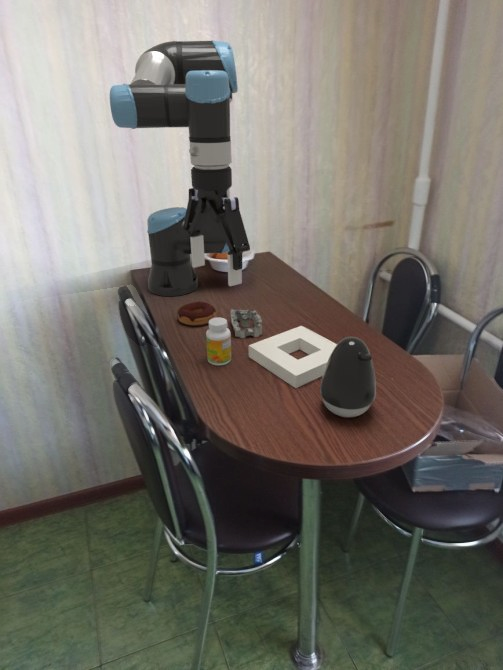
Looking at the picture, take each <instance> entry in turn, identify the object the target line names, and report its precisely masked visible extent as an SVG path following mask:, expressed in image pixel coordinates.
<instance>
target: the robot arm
mask: <svg viewBox="0 0 503 670" xmlns="http://www.w3.org/2000/svg"><path fill="white" fill-rule="evenodd" d="M232 48H233V47H232V46H231V44H230V43H228V42H227V41H219V40H214V39H213V40H196V41H195V40H184V41H183V40H182V41H180V40H179V41H177V40H172V41H171V40H170V41H166V42H161V43H159V44H157V45H155V46H152V47H150V48H149V49H147V50H145V51H144V52H143V53H142V54H141V55H140V56H139V58H138V59H137V61H136V64H135V67H134V77H133V78H132V80H131V82H130V84H129V83H128V84H127V83H123V84H115V85H112V86H111V87H110V90H109V105H110V113H111V117H112V121H113V123H114V125H115V126H117V127H118V128H123V129H131V130H135V129H153V128H154V129H157V128H159V129H160V128H188V139H189V140H188V141H189V150H188V152H189V154H190V155H189V156H190V164H191V165H193V167H191V169H190V176H191V186H192V188H189V189H188V199H187V200H188V202H187V206H186V207H178V206H176V207H168V208H163V209H159V210H156V211H154V212H153V213H151V214H150V215H149V216H148V217H147V222H146V224H147V234H148V242H149V251H150V260H151V265H150V266H151V267H150V270H149V275H148V280H147V286H148V287H147V288H148V291H149V292H150V293H152V294H154V295H156V296H163V297H176V296H183V295H187V294H190V293H192V292H194V291H195V290H197V289H198V287H199V280H198V279H199V278H198V276H197V274H196V270H195V268H198V267H199V268H200V267H202V266H206V262H205V261H206V260H205V254H226V256H227V281H228V282H227V285H228V286H229V287H232V286H237V285H241V284H242V283H243V278H242V277H243V272H242V271H243V253H244V252H248V251H250V250H251V245H250V243H249V242H250V241H249V238H248V236H247V232H246V229H245V224H244V221H243V217H242V214H241V211H240V201H239V198H238V197H237V196H236V197H230V193H231V191H230V189H231V187H232V186H233V173H232V172H233V170H232V168H231V166H230V165H231V163H232V162H233V161H232V160H233V159H232V141H231V104H232V101H233V94H236V93H237V92H238V89H239V87H238V80H237V70H236V62H235V57H234V52H233V49H232Z"/></svg>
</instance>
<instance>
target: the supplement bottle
mask: <svg viewBox="0 0 503 670" xmlns="http://www.w3.org/2000/svg"><path fill="white" fill-rule="evenodd" d="M231 334H232V333H231V331H230V329H229V328H228V320H227V319H226V318H224V317H220V316H219V317H217V316H216V318H212V319H210V320H209V323H208V329H207V330H206V333H205V336H206V353H207V354H206V357H207V361H208V363H209V364H210V365H213V366H225V365H228V364H229V363H230V362H231V360H232V339H231V338H232V335H231Z"/></svg>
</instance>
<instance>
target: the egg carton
mask: <svg viewBox="0 0 503 670" xmlns="http://www.w3.org/2000/svg"><path fill="white" fill-rule="evenodd" d="M230 320H231V325H232V329H233V331H234V337H237V338H240V339H246V337H250V336H252V337H254V338H259V337H260V336H261V335H263V326H262V325H263V319H262V318H261V315H260V314H258V312H257V310H255V309H254V310H253V311H250V309H249V308H248V309H246V310H245V309H233V308H231V309H230ZM251 320H253V325H254V326H253V328H249V327H251ZM238 321H240V325H241V327H242V328H245V329H243V330H242V328H241V327H240V325H239V322H238Z"/></svg>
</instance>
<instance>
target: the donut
mask: <svg viewBox="0 0 503 670" xmlns="http://www.w3.org/2000/svg"><path fill="white" fill-rule="evenodd" d="M216 312H217V310H216V308H215V306H214V305H212V304H211V303H208V302H204V301H193V302H190V303H187V304H184V305H182V306H180V307H179V308H178V310H177V318H178V321H179V322H180V323H182V324H184V325H188V326H195V327H197V326H204V325H207V324H209V320H210V319H212V318H217V313H216Z"/></svg>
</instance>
